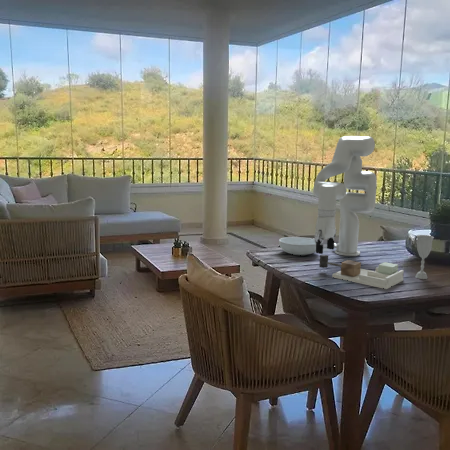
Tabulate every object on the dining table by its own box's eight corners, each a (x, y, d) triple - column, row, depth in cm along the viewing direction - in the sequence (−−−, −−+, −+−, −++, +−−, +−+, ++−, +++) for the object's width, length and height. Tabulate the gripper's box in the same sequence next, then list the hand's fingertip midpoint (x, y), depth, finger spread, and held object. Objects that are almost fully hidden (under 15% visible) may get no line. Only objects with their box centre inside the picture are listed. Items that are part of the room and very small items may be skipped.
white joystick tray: (332, 277, 213) (333, 261, 212) (350, 269, 226) (351, 255, 225) (386, 289, 198) (388, 272, 197) (403, 280, 211) (404, 264, 209)
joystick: (316, 268, 219) (317, 256, 218) (323, 266, 224) (323, 253, 223) (353, 276, 208) (354, 263, 207) (360, 273, 213) (361, 260, 212)
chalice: (421, 280, 211) (425, 238, 208) (409, 276, 217) (412, 235, 214) (433, 278, 215) (437, 237, 211) (421, 274, 221) (424, 234, 217)
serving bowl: (328, 254, 254) (328, 241, 253) (300, 260, 241) (300, 246, 240) (297, 247, 270) (298, 234, 269) (270, 252, 257) (270, 239, 256)
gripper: (328, 209, 225) (327, 246, 229) (308, 214, 212) (307, 253, 216) (344, 211, 220) (341, 248, 224) (324, 217, 208) (322, 256, 211)
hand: (324, 251), depth 220 cm, fingers open, 9 cm apart
